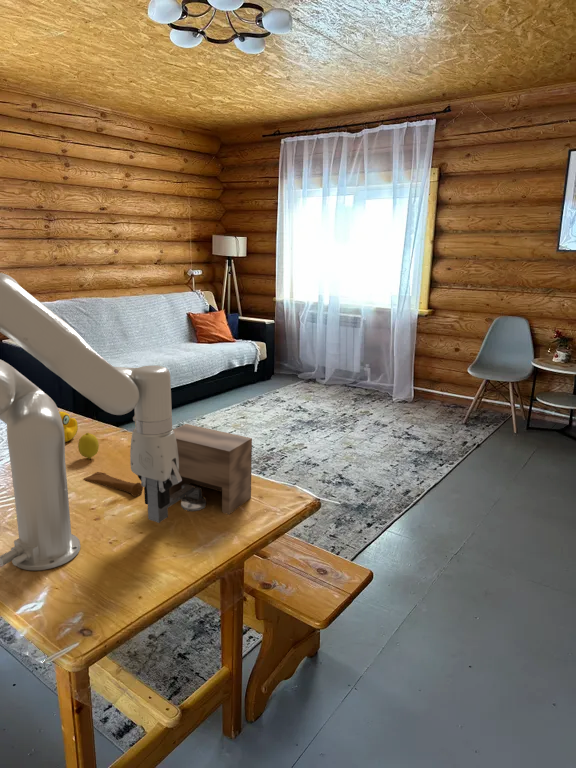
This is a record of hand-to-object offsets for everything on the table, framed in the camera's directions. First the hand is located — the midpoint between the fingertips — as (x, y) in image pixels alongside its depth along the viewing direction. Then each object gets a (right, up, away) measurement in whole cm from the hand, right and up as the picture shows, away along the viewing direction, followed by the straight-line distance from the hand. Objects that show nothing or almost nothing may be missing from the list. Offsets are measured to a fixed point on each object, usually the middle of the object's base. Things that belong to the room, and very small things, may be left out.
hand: (157, 503), depth 116 cm
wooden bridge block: (+8, -2, +18) cm, 20 cm away
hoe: (+3, -2, +6) cm, 7 cm away
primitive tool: (-17, -1, +22) cm, 28 cm away
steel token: (+6, -4, +13) cm, 15 cm away
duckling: (-42, +8, +51) cm, 66 cm away
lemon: (-29, +4, +38) cm, 48 cm away
